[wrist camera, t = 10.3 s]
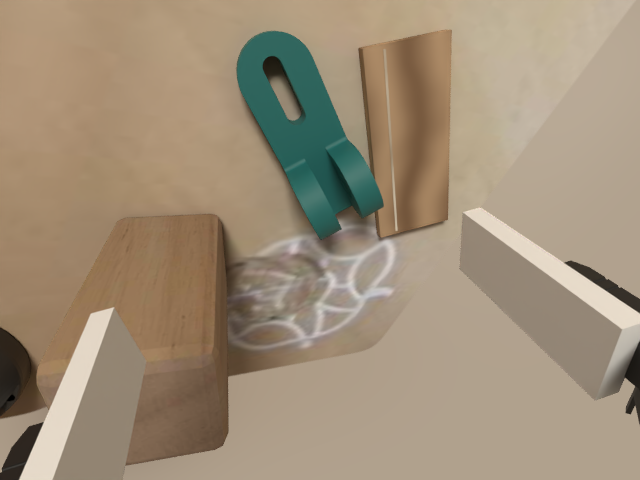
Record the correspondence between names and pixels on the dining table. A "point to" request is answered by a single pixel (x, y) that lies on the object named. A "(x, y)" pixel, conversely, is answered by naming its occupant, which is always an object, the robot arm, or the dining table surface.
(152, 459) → the block
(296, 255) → the dining table surface
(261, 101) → the bracket
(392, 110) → the plank
